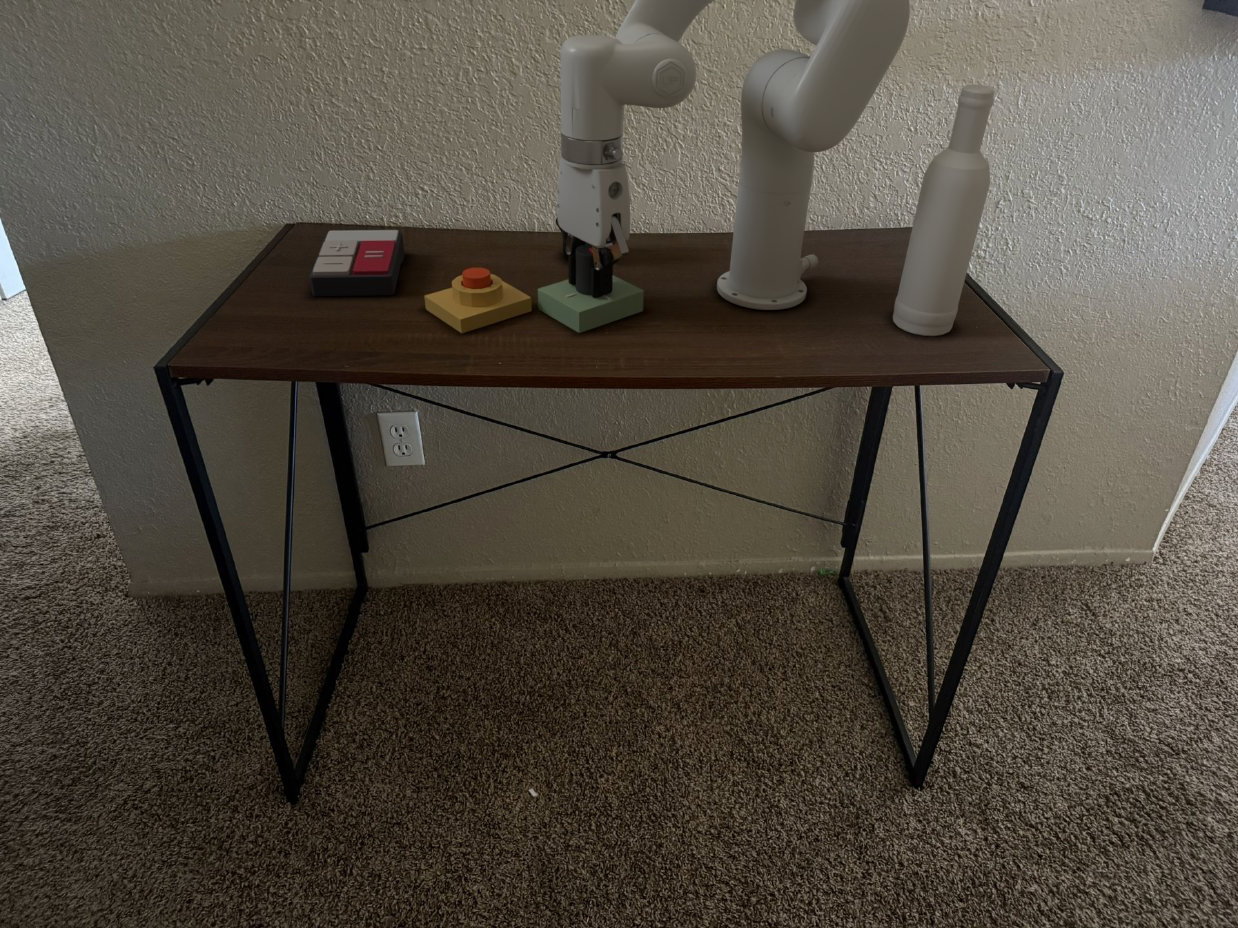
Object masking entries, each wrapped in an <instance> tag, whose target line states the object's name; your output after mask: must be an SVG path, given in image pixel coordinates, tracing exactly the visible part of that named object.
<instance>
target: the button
mask: <svg viewBox="0 0 1238 928" xmlns="http://www.w3.org/2000/svg"><path fill="white" fill-rule="evenodd" d="M461 273H462V274H461V275H463V286H464V287H465V288H470V289H483V288H486V287H490V286H491V278H490V274H491V271H490V270H489V269H488V268H484V267H470V268H466V269H464V270H463V271H462V272H461Z"/></svg>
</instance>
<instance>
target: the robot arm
mask: <svg viewBox="0 0 1238 928" xmlns="http://www.w3.org/2000/svg"><path fill="white" fill-rule="evenodd" d="M714 1H715V0H634V2H633V3H632V5H631V7H630V9H629V11H628V12H627V14H626V17H625V18H624V19H623V21H622V23H621V24H620V27H619V29H618V30H617V32H616V34H615V37H613V36H610V35H609V36H608V35H601V34H579V35H573V36H571V37H569V38H567V39H565V40H564V41H563V43H562V45H561V48H560V55H559V56H560V59H559V61H560V63H559V65H560V66H559V67H560V69H559V71H560V159H559V160H560V161H559V167H558V175H557V187H556V188H557V189H556V218H555V224H556V226H557V228H558V229H559V231H560V232H561V235H562V239H563V238H564V240H565V243H566V253H567V254H568V255H570V256H569V261H568V279H569V284H571V285H575V284H576V248H577V247H579V246H581V245H587V244H588V243H589V244H591V245H592V250H593V259H594V268H591V296H592V297H594V298H596V297H600V296H603V295H606V294H609V293H611V292H612V286H613V275H614V267H615V266H617V262H619V260H621V259H622V258H624V257H626V256H628V255H629V253H630V251H629V247H628V244H627V242H628V241H629V240H630V236H631V199H630V197H631V196H630V185H629V178H628V172H627V171H628V170H627V166H626V164H625V163H623V156H624V120H625V106H626V105H627V106H636V107H643V108H652V109H667V108H672V107H675V106H677V105H679V104H681V103H683V101H686V99H687V98H688V97H689V96H690V95H691V93H692V92H693V90H694V87H695V86H696V82H697V66H696V62H695V60H694V58H693V56H692V54H691V53H690V51H689V50H688V49H687V48H686V47H685V46H684V45H683V44H682V43H680V42H679V41H680V40H681V39H682V37H683V35H684V34H685V32H686V31H687V29H688V27H690V25H691V24H692V22H693V21H694V20H695V19H696V18H697V16H698V15H699V14H700V13H701V12H702V11H703V10H704V9H705V8H707V6H709V5H710V4H711V3H712V2H714ZM910 5H911V4H910V0H795V2H794V8H793V14H792V15H793V23H794V26H795V29H796V30H797V32H798V33H799V35H800V36H801V37H802V38H803V39H804V40H805V41H807V42H809V43H810V44H812V45H813V46H815V47H814V50H813V51H812V54H811V55H808V54H805V53H803V52H801V51H798V50H795V49H790V48H789V49H787V48H783V49H782V48H779V49H775V50H770V51H769V52H766V53H764V54H762V55H761V56H760V57H759V58H758V59H756V60H755V61H754V62H753V64H752V65H751V66H750V68H749V70H748V71H747V73H746V75H745V78H744V81H743V84H742V88H741V93H740V94H741V95H740V97H741V98H740V116H741V119H740V121H741V152H740V153H741V154H740V155H741V156H740V168H739V177H738V183H737V195H736V205H735V213H734V222H733V233H732V241H731V242H732V243H731V252H730V254H731V255H730V261H729V270H728V271H725V272H724V273H722V274H721V275H720V276H719V277H718V278H717V283H716V290H717V293H718V294H719V295H720V296H721V298H723V299H724V300H725V301H727V302H729V303H731V304H734V305H736V306H739V307H743V308H745V309H751V310H761V311H778V310H785V309H786V310H787V309H790V308H793V307H796V306H798V305H800V304H801V303H803V302H804V301H805V299H806V297H807V291H808V288H807V286H806V283H805V282H804V281H803V280H802V279H801V276H802V275H803V274H804V273H805V272H806V271H808V270H811V269H814V268H816V267H817V266H818V265H819V259H818V257H817V255H815V254H814V253H813V254H809V255H806V256H803V257H801V256H802V250H803V243H804V237H805V230H806V222H807V216H808V210H809V202H810V196H811V188H812V185H813V177H814V172H815V171H814V169H815V168H814V167H815V153H823V152H826V151H828V150H831V149H832V148H834V147H836V146H837V145H838V144H840V143H841V142H842V141H843V140H844V139H845V138H847V136H848V135H849V133H850V132H851V131H852V130H853V129H854V127H855V126H856V124H857V122H858V121H859V119H860V118H861V116H862V115H863V112H864V111H865V109H866V108H867V106H868V105H869V103H870V101H871V99H872V98H873V95H874V94H875V92H876V90H877V89H878V87H879V85H880V84H881V82H882V80H883V78H885V77H884V76H885V75H886V73H887V72H888V69H889V68H890V66H891V65H892V63H893V61H894V59H895V58H896V56H897V54H898V52H899V50H900V48H901V46H902V44H903V42H904V39H905V36H906V33H907V31H908V27H909V21H910V15H911V6H910ZM606 240H607V241H606ZM605 248H606V250H607V253H605V254H604V255H603V256H602V252H601V249H605Z"/></svg>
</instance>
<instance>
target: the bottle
mask: <svg viewBox="0 0 1238 928" xmlns="http://www.w3.org/2000/svg"><path fill="white" fill-rule="evenodd" d="M995 94H996V93H995V89H994V88H993V87H991V86H989V85H983V84H975V83H974V84H965V85H964V86H963V87H962V88H961V92H960V94H959V96H958V97H957V98H958V99H957V109H956V113H955V118H954V121H953V126H952V130H951V134H950V138H949V144H948V146H947V147H946V148H944V149H943V150H942V151H941V152H939V153H937V154H936V155H935V156H934V157H933V158H932V159H931V161H930V163H929V164H928V166H927V168H926V169H925V172H924V174H923V178H922V183H921V187H920V192H919V196H918V200H917V205H916V209H915V213H914V219H913V223H912V228H911V232H910V235H909V236H910V237H909V241H908V246H907V251H906V254H905V259H904V264H903V268H902V269H903V270H902V271H901V272H902V273H901V276H900V277H901V278H900V281H899V287H898V291H897V296H896V297H895V301H894V305H893V314H892V322H893V323H894V324H895V325H896V326H897V328H899V329H901V330H902V331H904V332H907V333H911V334H913V335H916V336H917V335H918V336H923V337H937V336H943V335H945V334H947V333H950V331H951V330H952V329H953V327H954V326H953V325H954V322H955V320H956V317H957V313H958V311H959V303H960V299H961V297H962V293H963V288H964V285H965V280H966V277H967V273H968V269H969V266H970V261H971V258H972V254H973V250H974V246H975V242H976V240H977V235H978V231H979V227H980V224H981V220H982V215H983V212H984V208H985V204H986V201H987V197H988V193H989V190H990V186H991V170H990V164H989V162H988V160H987V159H986V157H985V156H984V155H983V153H982V152H981V148H982V144H983V140H984V137H985V132H986V130H987V129H986V128H987V125H988V121H989V116H990V112H991V109H992V107H993V106H994V102H995V100H994V97H995Z"/></svg>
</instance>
